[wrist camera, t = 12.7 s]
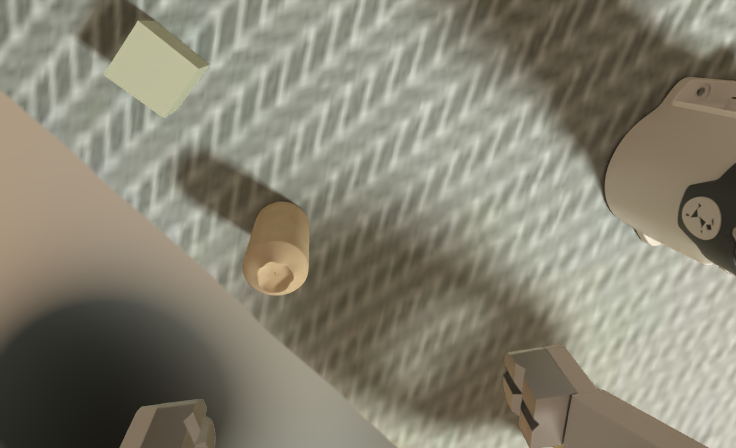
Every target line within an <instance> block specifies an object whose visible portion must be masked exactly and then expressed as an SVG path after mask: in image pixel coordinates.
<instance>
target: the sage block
mask: <svg viewBox="0 0 736 448" xmlns="http://www.w3.org/2000/svg"><path fill="white" fill-rule="evenodd" d="M209 65H210V64H209V63H207V62H206V61H205V60H204V59H202V58H201V57H200V56H199V55H197V54H196V53H195V52H194V51H192V50H191V49H190V48H189V47H188V46H186V45H185V44H184V43H183V42H181V41H180V40H179V39H178V38H176V37H175V36H174V35H173V34H171V33H170V32H169V31H168V30H167V29H165V28H164V27H163V26H162V25H160V24H159V23H158V22H157V21H137V23H136V24H135V26H134V28H133V29H132V31H131V32H130V34H129V35H128V37H127V39H126V40H125V42H124V43H123V45H122V46H121V48H120V49H119V51H118V53H117V54H116V56H115V57H114V59H113V60H112V62H111V63H110V65H109V67H108V68H107V70H106V71H105V73H104V74H103V75H104V76H106V77H107V78H108V79H110V80H111V81H113V82H114V83H115V84H117V85H118V86H120V87H121V88H122V89H124V90H125V91H127V92H128V93H129V94H131V95H132V96H133V97H135V98H136V99H138V100H139V101H140V102H142V103H143V104H145V105H146V106H147V107H149V108H150V109H152V110H153V111H154V112H156V113H157V114H158V115H160V116H161V117H163V118H165V117H167V116H168V115H170V114H171V113H173V112H174V111H176V110H178V108H179V107H180V106H181V104H182V103H183V101H184V100H185V99H186V97H187V96H188V94H189V93H190V92H191V90H192V89H193V87H194V86H195V85H196V83H197V82H198V80H199V79H200V78H201V76H202V75H203V73H204V72H205V71H206V69H207V68H208V66H209Z"/></svg>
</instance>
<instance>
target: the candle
mask: <svg viewBox="0 0 736 448" xmlns="http://www.w3.org/2000/svg"><path fill="white" fill-rule="evenodd" d="M308 270H309V221H308V218H307V216H306V214H305V213H304V211H303V210H302V209H301V208H300V207H298V206H297V205H295V204H293V203H289V202H283V201H280V202H274V203H271V204H269V205H267V206H265V207H264V208H263V209H262V210H261V211H260V212H259V214H258V216H257V218H256V221H255V224H254V227H253V230H252V234H251V237H250V241H249V244H248V247H247V251H246V254H245V257H244V261H243V274H244V277H245V278H246V280H247V282H248V283H249V284H250V285H251V286H252V287H253V288H254V289H256V290H257V291H259V292H262V293H264V294H268V295H285V294H288V293H291V292H293V291H295V290H297V289H298V288H299V287H300V286H301V285H302V284H303V283H304V282H305V280H306V278H307V275H308Z"/></svg>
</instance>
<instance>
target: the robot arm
mask: <svg viewBox="0 0 736 448" xmlns="http://www.w3.org/2000/svg"><path fill="white" fill-rule="evenodd" d="M698 90H699V92H698V93H697V91H698ZM605 196H606V200H607V203H608V206H609V208H610V210H611V211H612V213H613V214H614V215H615V216H616V217H617V218H618V219H619V220H621V221H622V222H624V223H626V224H628V225H630V226H632V227H633V228H634V229H636V231H637V233H638V235H639V237H640V238H641V240H642V241H643V242H645V243H647V244H649V245H651V246H658V245H661V244H664V245H666V246H668V247H670V248H672V249H674V250H676V251H678V252H680V253H682V254H684V255H686V256H688V257H690V258H692V259H694V260H696V261H698V262H700V263H703V264H706V265H711V264H713V263H714V264H716V265H718V266H719V268H721V269H723V270H724V271H726V272H727V273H729V274H731V275H733V276H736V81H733V80H721V79H709V78H698V77H686V78H683V79H682V80H680V81H679V82H678V83H677V84H676V85H675V86H674V87H673V89H672V90H671V91H670V92H669V94H668V95H667V96H666V98H665V99H664V101H663V102H662V103H661V104H660V105H659V106H658V107H657V108H656V109H655V110H654V111H652V112H651V113H650V114H648V115H647V116H646V117H644V118H643V119H642V120H640V121H639V122H638V123H637V124H636V125H635V126H634V127H633V128H632V129H631V130H630V131H629V132H628V133H627V134H626V136H625V137H624V138H623V139H622V141H621V142H620V144H619V145H618V147H617V148H616V150H615V152H614V154H613V156H612V158H611V160H610V163H609V166H608V169H607V173H606V178H605ZM504 364H505V366H506V368H507V371H506V373H505V374H504V375H503V388H504V394H505V397H506V400H507V403H508V405H509V407H510V409H511V411H512V412H513V413H515V414H516V415H518V416H519V428H520V430H521V432H522V434H523V436H524V438H525V440H526V442H527V444H528V446H529V448H542V447H550V446H557V445H563V447H564V448H708V447H706V446H705V445H703V444H701V443H699V442H697V441H695V440H694V439H692V438H690V437H688V436H686V435H685V434H683V433H681V432H679V431H677V430H676V429H674V428H672V427H670V426H668V425H666V424H665V423H663V422H661V421H659V420H657V419H656V418H654V417H652V416H650V415H648V414H646V413H645V412H643V411H641V410H639V409H637V408H636V407H634V406H632V405H630V404H628V403H627V402H625V401H623V400H621V399H619V398H617V397H616V396H614V395H612V394H610V393H608V392H607V391H605V390H600V391H598V390H597V388H596V387H595V386H594V384H593V383H592V382H591V381H590V379H589V378H588V377H587V375H586V374H585V373H584V371H583V370H582V369H581V367H580V366H579V365H578V363H577V362H576V361H575V360H574V358H573V357H572V356H571V354H570V353H569V352H568V350H567V349H566V348H565V346H563V345H561V344H557V345H551V346H544V347H537V348H531V349H525V350H519V351H513V352H507V353H506V354H505V357H504ZM206 409H207V407H206V405H205V403H204V401H203V400H202V399H197V400H189V401H181V402H173V403H165V404H160V405H151V406H143V407H141V408H140V409H139V410H138V411H137V412H136V415H135V417H134V419H133V421H132V423H131V425H130V427H129V429H128V431H127V433H126V436H125V437H124V440H123V442H122V444H121V446H120V448H215V430H214V425H213V423H212V420H211V419H209V418H207V417H206V416H205V413H206Z"/></svg>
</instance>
